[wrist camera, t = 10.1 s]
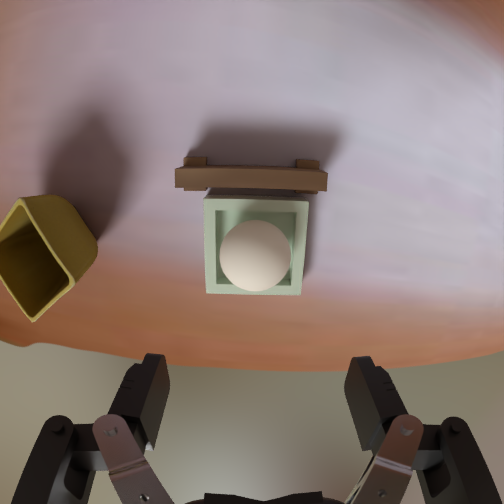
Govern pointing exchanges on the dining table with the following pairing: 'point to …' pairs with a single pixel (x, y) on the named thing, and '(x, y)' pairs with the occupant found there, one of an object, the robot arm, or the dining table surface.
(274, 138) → the dining table surface
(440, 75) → the dining table surface
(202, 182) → the rail
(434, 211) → the dining table surface
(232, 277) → the ball
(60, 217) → the flower pot
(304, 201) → the dish
